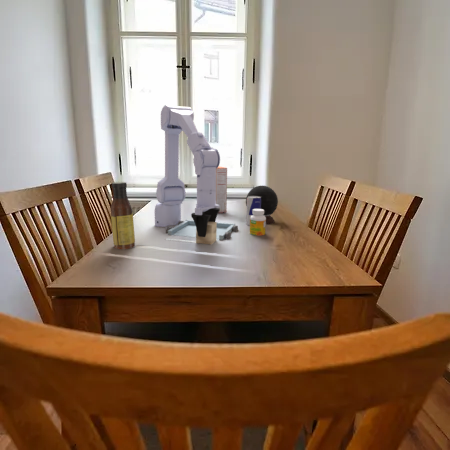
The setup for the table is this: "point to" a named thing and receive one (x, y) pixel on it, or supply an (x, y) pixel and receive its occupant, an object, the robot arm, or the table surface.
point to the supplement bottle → (257, 222)
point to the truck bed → (189, 229)
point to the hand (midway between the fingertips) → (205, 233)
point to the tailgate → (183, 240)
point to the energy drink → (252, 206)
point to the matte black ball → (265, 201)
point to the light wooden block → (208, 234)
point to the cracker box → (221, 188)
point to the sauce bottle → (122, 218)
